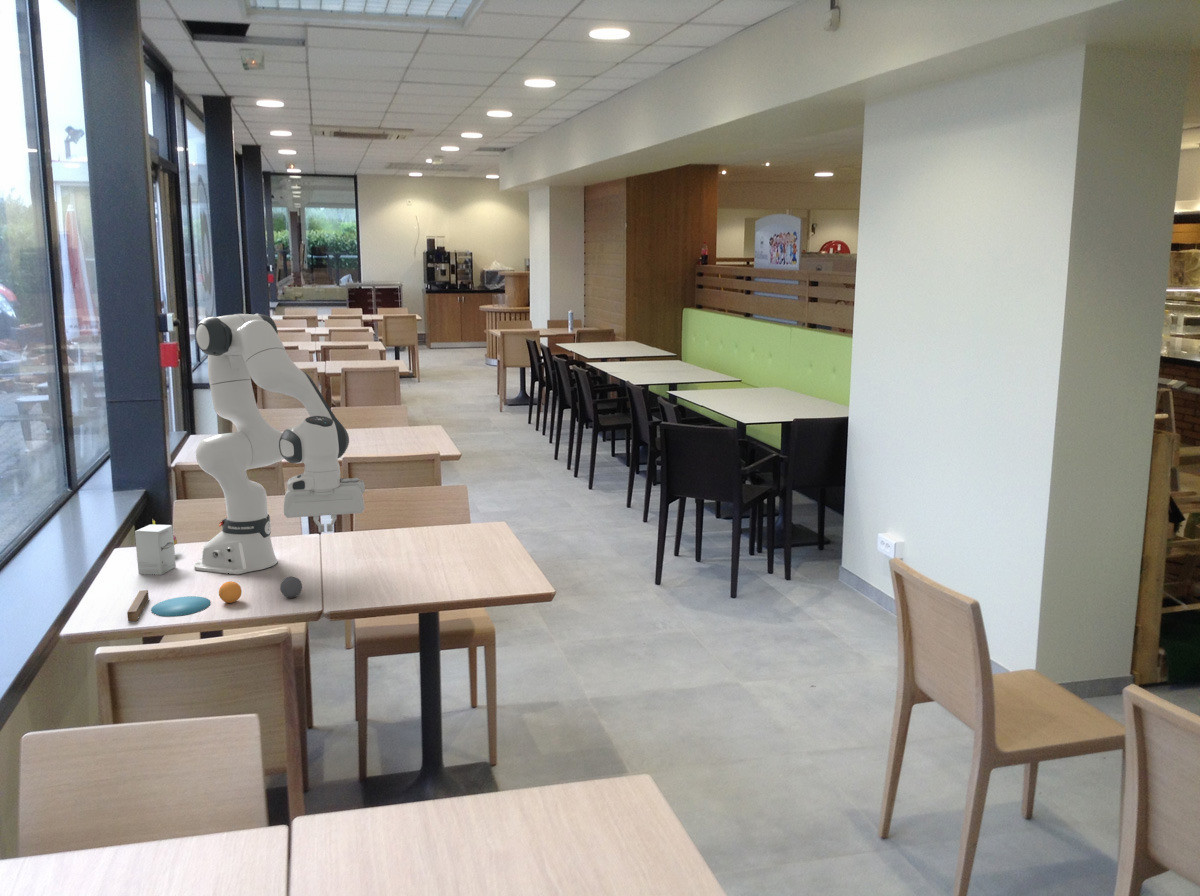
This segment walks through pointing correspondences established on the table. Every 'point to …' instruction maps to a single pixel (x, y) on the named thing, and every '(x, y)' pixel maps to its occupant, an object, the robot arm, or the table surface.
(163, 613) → the teal mark
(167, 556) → the supplement box
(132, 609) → the wall
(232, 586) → the orange ball
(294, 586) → the gray ball
